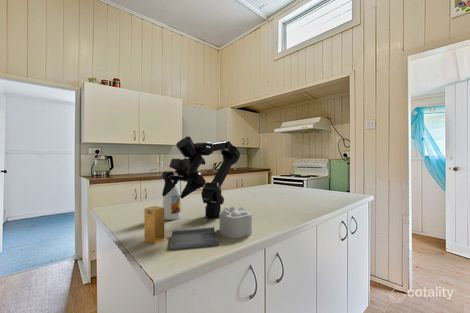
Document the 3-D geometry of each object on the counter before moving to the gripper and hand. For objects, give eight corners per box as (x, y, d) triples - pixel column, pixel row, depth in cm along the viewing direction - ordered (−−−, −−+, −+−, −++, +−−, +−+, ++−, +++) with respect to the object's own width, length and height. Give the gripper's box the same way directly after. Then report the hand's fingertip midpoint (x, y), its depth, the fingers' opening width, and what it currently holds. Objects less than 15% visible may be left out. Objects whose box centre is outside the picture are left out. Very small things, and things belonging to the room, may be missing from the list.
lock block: (154, 237, 77) (154, 206, 77) (164, 240, 75) (164, 207, 75) (144, 241, 74) (144, 208, 74) (154, 244, 71) (154, 210, 71)
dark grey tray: (214, 232, 82) (214, 227, 82) (218, 245, 70) (218, 239, 70) (172, 236, 78) (172, 230, 78) (169, 250, 67) (169, 243, 67)
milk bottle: (164, 221, 96) (164, 175, 96) (161, 217, 103) (161, 174, 103) (182, 219, 100) (181, 174, 100) (178, 215, 107) (178, 173, 107)
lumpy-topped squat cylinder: (231, 240, 75) (231, 214, 75) (213, 229, 86) (213, 207, 86) (255, 233, 81) (255, 210, 81) (235, 224, 91) (235, 203, 91)
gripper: (164, 151, 91) (141, 181, 81) (200, 151, 81) (179, 184, 72) (178, 169, 97) (159, 199, 88) (213, 171, 88) (195, 204, 79)
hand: (171, 196), depth 81 cm, fingers open, 9 cm apart
